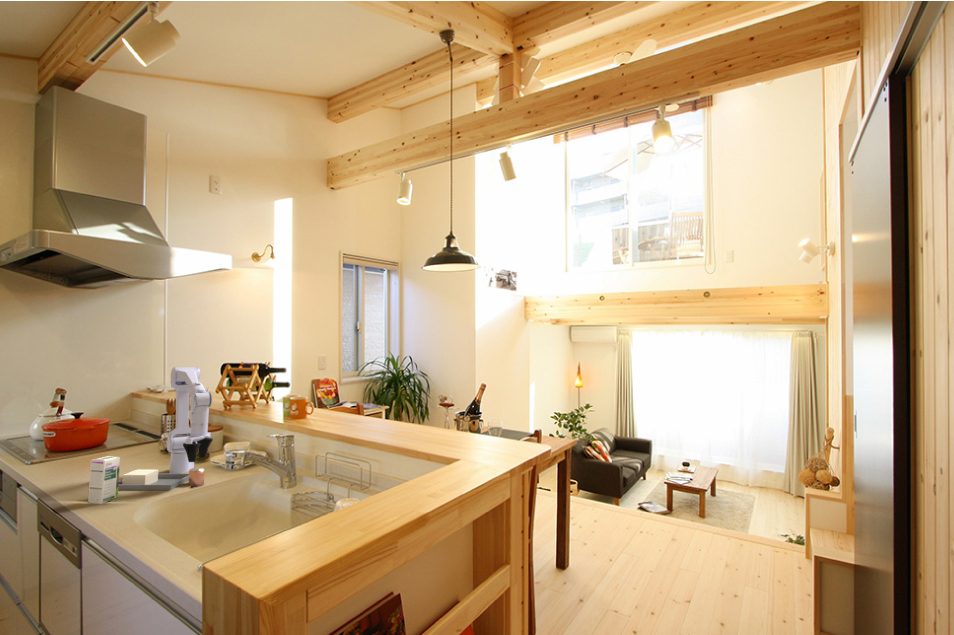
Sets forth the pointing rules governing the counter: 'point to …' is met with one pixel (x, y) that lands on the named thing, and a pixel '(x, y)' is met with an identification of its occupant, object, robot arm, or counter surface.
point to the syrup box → (104, 479)
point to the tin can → (196, 477)
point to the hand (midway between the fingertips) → (197, 459)
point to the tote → (158, 482)
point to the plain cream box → (140, 477)
